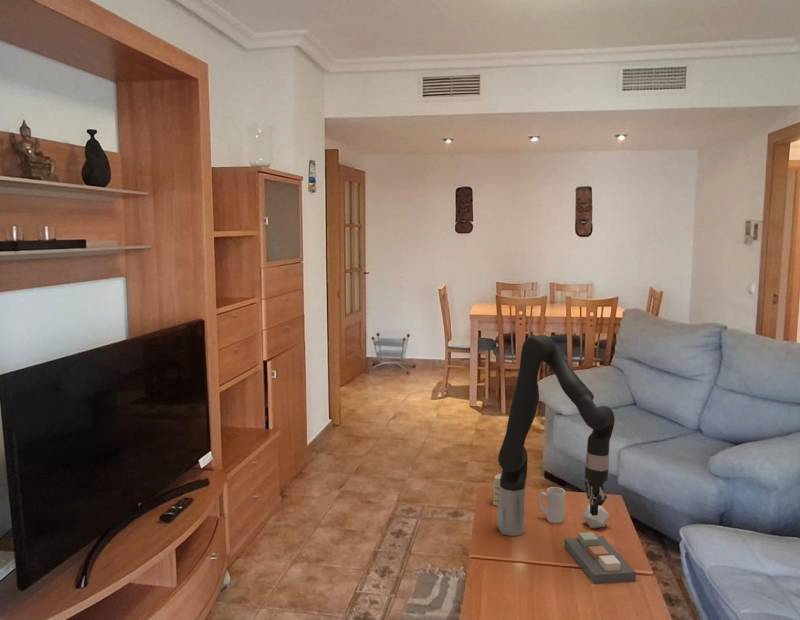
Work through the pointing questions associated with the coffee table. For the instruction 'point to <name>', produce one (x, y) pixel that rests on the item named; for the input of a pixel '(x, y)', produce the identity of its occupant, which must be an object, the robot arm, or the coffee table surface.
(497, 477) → the box
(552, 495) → the mug
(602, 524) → the die
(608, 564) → the key ivory
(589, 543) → the key sage
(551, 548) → the coffee table surface
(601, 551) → the key terracotta
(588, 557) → the key panel
